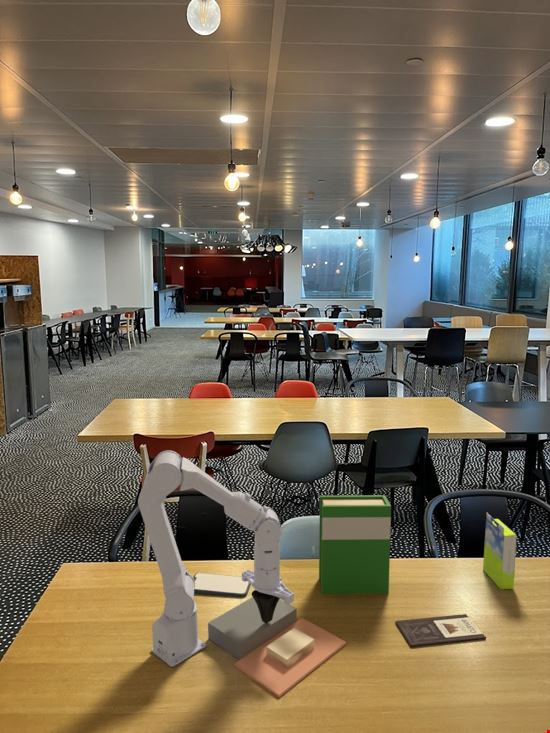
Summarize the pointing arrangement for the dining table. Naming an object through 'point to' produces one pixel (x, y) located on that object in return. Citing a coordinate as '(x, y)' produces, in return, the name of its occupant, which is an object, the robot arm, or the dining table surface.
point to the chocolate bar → (439, 630)
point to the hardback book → (354, 544)
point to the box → (499, 553)
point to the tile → (290, 647)
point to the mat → (285, 678)
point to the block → (249, 627)
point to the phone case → (220, 585)
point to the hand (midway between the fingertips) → (267, 620)
